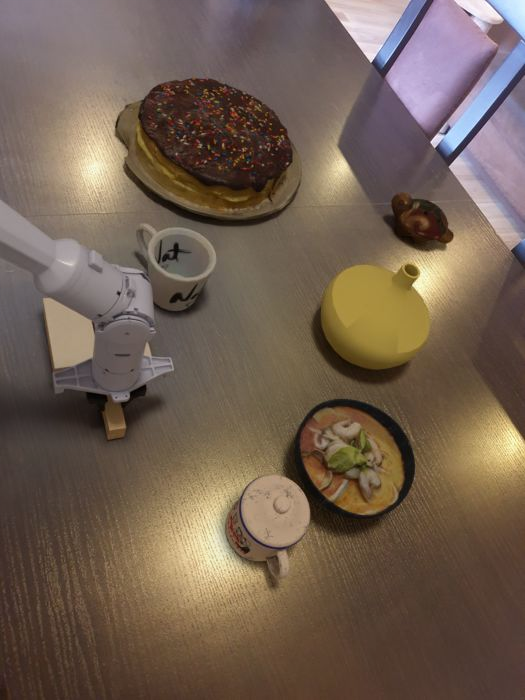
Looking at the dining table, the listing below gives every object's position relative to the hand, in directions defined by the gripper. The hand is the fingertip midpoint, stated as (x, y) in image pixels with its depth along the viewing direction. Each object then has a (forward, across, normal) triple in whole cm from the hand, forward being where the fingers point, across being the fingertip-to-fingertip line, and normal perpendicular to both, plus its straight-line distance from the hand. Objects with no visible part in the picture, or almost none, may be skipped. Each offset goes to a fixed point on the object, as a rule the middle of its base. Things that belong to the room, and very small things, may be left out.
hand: (110, 403), depth 77 cm
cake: (+2, +29, +51) cm, 59 cm away
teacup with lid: (+2, +16, -22) cm, 27 cm away
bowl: (+2, +30, -16) cm, 34 cm away
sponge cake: (+2, 0, +11) cm, 11 cm away
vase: (+2, +44, +6) cm, 44 cm away
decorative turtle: (+2, +68, +29) cm, 73 cm away
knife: (+2, 0, +5) cm, 5 cm away
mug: (+2, +12, +21) cm, 24 cm away
